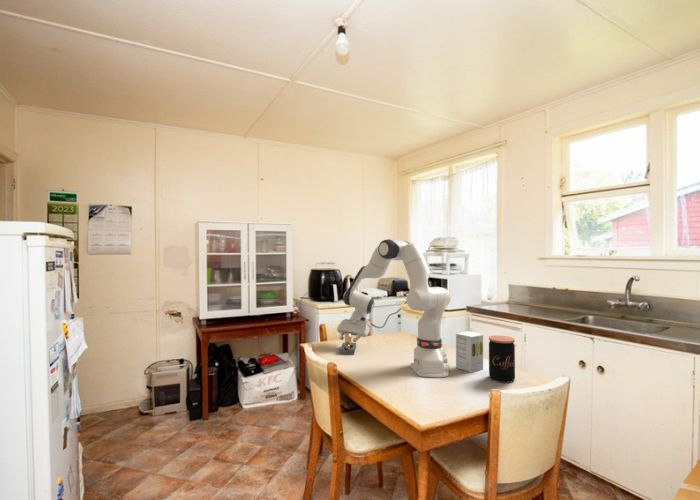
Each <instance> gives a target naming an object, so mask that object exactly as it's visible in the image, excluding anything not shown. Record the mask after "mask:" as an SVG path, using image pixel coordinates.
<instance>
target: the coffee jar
mask: <svg viewBox="0 0 700 500" xmlns="http://www.w3.org/2000/svg"><path fill="white" fill-rule="evenodd" d="M488 340H489V342H488V376H489V377H490V379H491V380H492V381H495V382H498V381H499V383H506V382H507V383H512V382H514V381H515V378H516V345H515V338H514V337H510V336H507V335H497V334H496V335H490V336H489V337H488ZM511 381H512V382H511Z"/></svg>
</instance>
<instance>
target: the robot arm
mask: <svg viewBox="0 0 700 500" xmlns="http://www.w3.org/2000/svg"><path fill="white" fill-rule="evenodd" d="M392 260H393V261H402V263H403V264H404V268H405V271H406V274H407V277H408V280H409V291H408V293H407V295H406V303H407V306H408V307H409V309H410V310H412V311H417V312H423V313H422V315H421V316H420V318H419V319H418V322H417V337H416V344H417V345H416V347H415V348H414V349H413V362H410V365H409V367H410V368H411V369H412V370H413V371H414V372H415V374H416V375H417V376H418V377H424V378H446V377H447V378H448V377H449V376H450V375H449V374H450V373H449V372H450V364H449V363H448V358H446V357H447V353H445V348H443V340H442V337H441V332H442V328H441V327H442V319H443V316H444V313H445V310H446V308H447V307H448V305H449V304H450V303H451V293H450V292H449V290H448V289H447V288H445V287H442V286H441V287H440V286H430V285H429V278H430V277H431V275H432V273H431V269H430V268H429V266H428V262H427V260H426V257H425V256H424V254H423V252H422V250H421V249H420V247H419V245H417V244H416V243H413V242H411V243H410V242H408V241H406V240H401V239H400V240H399V239H384V240H381V242H380V243H379V244H378V246H376V247H375V249H374V250H373V253H372V254H371V257H370V258H369V261H368V263H367V264H366V265H364V266H362V267H361V268H360V269H359V270H358V271H357V273H356V275H355V276H354V278H353V280H352V282H351V283H350V285H349V287H348V288H347V290H346V291H345V292H344V293H343V297H342V302H343V303H344V304H345V305H347V306H350V307H352V308H355V309H354V311H353V312H352V314H351V315H350V318H344V319H342V320H341V322H340V323H339V324H338V326H337V328H336V331H337V332H338V333H339V334H340V335H339V339H340V340H343V341H344V340H345V333H351V336H356V337H353V339H352V342H353V343H357V341H358V340H359V339H360V338H362V337H363V338H366V337H368V335H369V332H370V331H371V330H370V328H371V326H372V324H371V323H370V321H369V319H368V318H367V317H368V315H369V314H370V313H372V310H373V309H374V306H375V301H374V298H373V297H371V296H370V295H367V294H365V293H362V292H360V291H358V290H357V288H358V286H359V284H360V282H361V281H362V280H364V279H374V280H375V279H380V278H382V277H383V276H385V274H386V273H387V271H388V269H389V266H390V263H391V261H392Z"/></svg>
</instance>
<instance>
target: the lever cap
mask: <svg viewBox="0 0 700 500" xmlns="http://www.w3.org/2000/svg"><path fill="white" fill-rule="evenodd" d="M344 343H345V344H350V348H351V343H352V335H351V333H345V334H344Z"/></svg>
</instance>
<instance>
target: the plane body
mask: <svg viewBox="0 0 700 500" xmlns="http://www.w3.org/2000/svg"><path fill="white" fill-rule="evenodd" d="M356 349H357V342H351V348H350V344H345V342H342V343H341V346H340V348H339V355H345V356H348V355H349V356H350V355H351V356H354V355H355V353H356Z"/></svg>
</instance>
